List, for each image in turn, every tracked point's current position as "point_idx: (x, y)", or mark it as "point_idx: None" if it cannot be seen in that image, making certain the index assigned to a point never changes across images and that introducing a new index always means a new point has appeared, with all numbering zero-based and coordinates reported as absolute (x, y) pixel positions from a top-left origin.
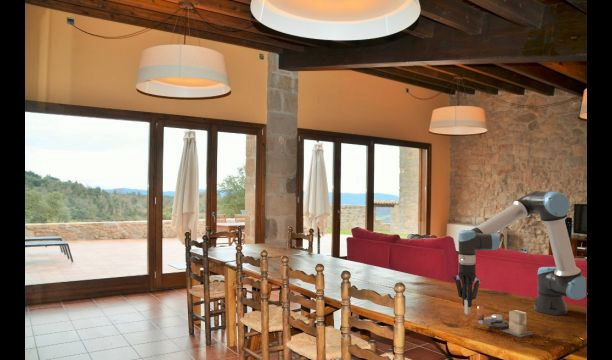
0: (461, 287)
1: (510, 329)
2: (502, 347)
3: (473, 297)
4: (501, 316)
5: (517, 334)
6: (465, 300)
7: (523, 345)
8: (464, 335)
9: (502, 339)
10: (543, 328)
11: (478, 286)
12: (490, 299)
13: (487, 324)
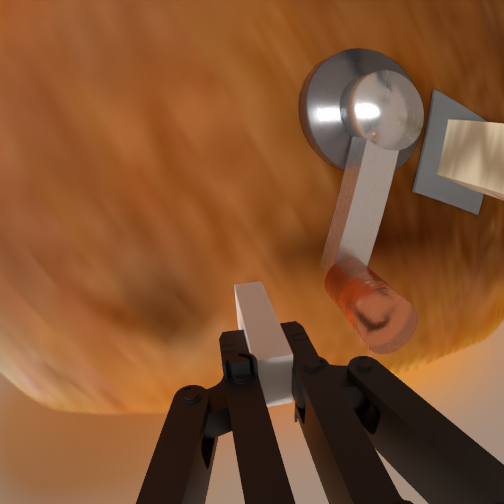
0: (187, 492)
1: (449, 178)
2: (443, 352)
3: (373, 413)
4: (417, 109)
5: (468, 192)
6: (269, 402)
7: (488, 279)
8: None
9: (434, 288)
10: (480, 15)
11: (487, 456)
12: None
13: (321, 156)
